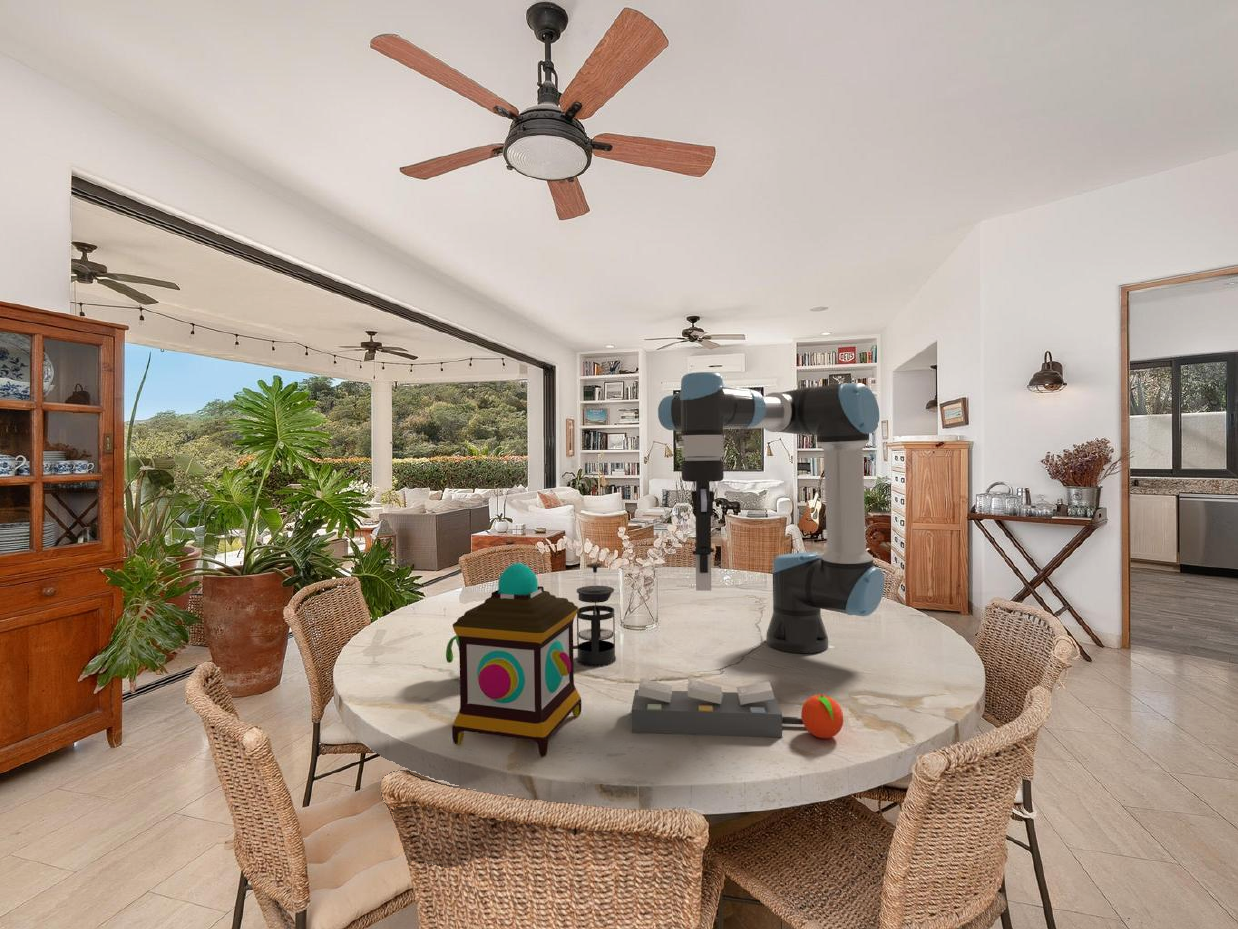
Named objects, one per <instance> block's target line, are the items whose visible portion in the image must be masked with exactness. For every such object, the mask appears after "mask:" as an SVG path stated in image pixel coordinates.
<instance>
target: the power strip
mask: <svg viewBox="0 0 1238 929" xmlns="http://www.w3.org/2000/svg"><path fill="white" fill-rule="evenodd" d="M722 694H723V697H722V702H721V704H718V703H713V702H709V701H705V700H701V699H697V698H692V697H688V690H672V696H671V701H670V703H669V702H665V701H661V700H657V699H652V698H648V697H644V696H640V695H638V689H635V690H634V695H633V699H632V706H631V711H630V712H631V733H645V734H646V733H647V734H670V735H671V734H674V735H675V734H676V735H678V734H679V735H700V736H701V735H704V736H705V735H706V736H727V737H728V736H730V737H733V736H734V737H735V736H736V737H756V738H757V737H762V738H765V737H766V738H783V725H803V726H804V724H803V721H802V717H801V716H800V717H799V716H783V713H782V711H781V708H780V705H779V702H778V700H777V697H776V695H775V693H773V695H774V699H771V700H765V701H760V702H754V703H748V704H743V705H741V704H740V700H739V695H738V692H735V691H734V692H727V691H722Z"/></svg>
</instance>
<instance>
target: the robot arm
mask: <svg viewBox="0 0 1238 929" xmlns="http://www.w3.org/2000/svg"><path fill="white" fill-rule="evenodd" d="M723 382H724V381H723V376H722V374H720V373H718V372H713V371H701V372H699V371H697V372H690V373H686V374H685V375H683V376H682V377H681V382H680V394H679V393H674V394H671V395H667V396H664V397H663V398H662V400H660V403H659V404H658V406H657V407H658V408H657V418H658V421H659V423H660V425H661V426H662V427H663V428H664V429H666V430H668V431H677V432H680V431H681V433H680V434H681V440H679V441H677V445H678V447H682V448H681V457H682V458H684V460H682V462H681V463H680V464H681V466H680V467H681V470H680V471H681V481H684V482H689V483H691V482H692V483H693V482H695V490H694V491H692V490H691V501H692V514H693V516H694V518H695V543H694V545H695V550H692V552H691V553H692V555H695V591H700V592H701V591H705V592H706V591H707V592H708V591H712V554H711V553H714V552H715V549H714V548H712V517H713V515H714V508H713V507H714V505H713V504H714V501H715V492H714V490H711V489H710V486H711V485H710V482H721V481H724V478H725V477H724V472H725V470H724V462H723V460H721V458H723V457H724V454H725V451H724V448H725V446H724V430H727V429H728V430H731V429H734V430H735V429H737V430H738V429H741V430H742V429H744V430H745V429H764V430H765V431H767V432H770V433H784V434H785V433H786V434H793V435H801V436H802V435H803V436H816V437H815V438H816V444H817V446H819V447H820V448H821V449H822V450H823V466H824V467H823V468H824V495H825V496H824V497H825V521H826V523H825V524H826V525H825V526H826V527H825V528H826V550H825V551H824V552H823V553H822V554H820V553H819V552H811V551H807V552H806V551H805V552H794V553H793V552H792V553H786V554H780V555H778V556H777V555H776V556H775V558H774V559H773V561H772V571H771V574H772V615H771V618H770V620H769V625H768V627H767V630H766V634H765V636H766V637H765V639H766V640H765V641H766V644H767V645H768V646H769V647H771V648H773V649H775V650H779V651H782V652H785V653H795V654H815V653H820V652H824V651H826V650H827V649H828V648H829V636H828V633H827V631H826V627H825V624H824V621H823V618H822V616H821V615H822V614H821V613H822V612H821V610H826V611H831V612H835V613H839V614H840V613H841V614H846V615H848V616H856V617H857V616H859V617H867V616H871V614H873V613H874V612H875V611H876V610H877V609H878V607H879V606H880V603H881V602H882V598H883V595H884V591H885V575H884V573H883V570H882V569H881V568H878V567H877V566H874V557H873V555H871V553H869V552H868V551H867V545H866V544H867V541H866V512H865V511H866V510H865V509H866V508H865V484H864V479H865V478H864V458H863V457H864V454H863V452H864V450H863V449H864V448H865V446H866V445H867V444H868V443H869V442H870V434H873V433H874V432H876V430H877V429H878V427H879V422H880V408H879V404H878V400H877V398H876V396H875V394H874V392H873V391H872V390H871V388H870V387H869V386H867V385H866V384H864V383H859V382H857V383H856V382H854V383H853V382H851V383H848V382H843V383H840V384H838V383H837V384H828V385H821V386H813V387H812V386H808V387H803V388H797V389H792V390H788V391H781V392H769V393H767V394H766V395H762V394H761V392H759V391H757V390H754V389H750V388H747V387H744V388H742V387H741V388H740V387H729V386H724V385H725V384H724V383H723Z"/></svg>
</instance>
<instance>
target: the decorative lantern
mask: <svg viewBox="0 0 1238 929" xmlns="http://www.w3.org/2000/svg"><path fill="white" fill-rule="evenodd" d="M497 587H498V588H497V590H494V591H493V592H491V596H490V597H488V598H486V599H485V600H484V602H483V603H481V604H478V605H477V606H475V607H473V608H471V609H468V610H467V611H465V612H464V614H463V615H461V616H459V617H457V620H456V621H454V622H453V623H452V628H453V631H454V633H455V636H456V635H457V637H458V639H459V646H458V647H459V648H458V653H459V655H458V656H459V696H460V697H459V699H460V700H459V701H460V702H459V704H460V705H459V710H458V713H457V714H456V717H455V719H454V721H453V724H452V727H451V737H452V742H453V744H454V745H456V746H459V745H461V744H462V743H463V740H464V732H466V733H475V734H481V735H489V736H496V737H504V738H512V739H518V740H525V741H526V740H527V741H530V742H533V743H535V744H536V746H537V750H538V755H539V757H540V758H545V757H546V755H547V753H548V746H549V739H550V737H551V736H552V735H553V734H554V733H555V731H556V730H557V729H558V728H559V727H560V726H561V725H562V723H563V722H564V721H565V720H566V719H567V717H568V716H570V714H571V713H572V715H573V716H574V717H575V718H578V717H579V716H580V715H581V714H582V697H581V696H580V695H581V694H580V693H579V691H578V690H577V687H576V686H575V674H574V672H575V668H574V665H575V664H574V663H575V662H574V649H573V646H574V620H575V618H576V617H577V612H578V609H579V606H577V605H575V603H574V602H572V601H569V599H568V598H566V597H557V596H556V595H553V594H551V593H550V591H547V590H545V589H544V586H542V585H541V586H540V585H538V578H537V575H536V573H535V572H534V571H533V570H532V569H531V568H530V567H529V566H527V565H526V564H525V563H524V564H523V563H520V562H515V563H513V564H511V565H509V566H508V567H507V568H505V570H504V571H503V572H502V573H501V574H500V576H499V577H498V586H497Z"/></svg>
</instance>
